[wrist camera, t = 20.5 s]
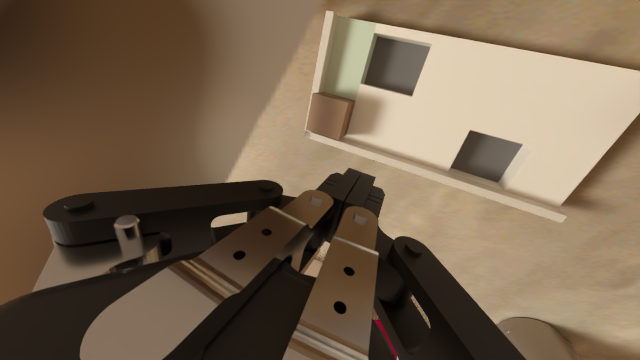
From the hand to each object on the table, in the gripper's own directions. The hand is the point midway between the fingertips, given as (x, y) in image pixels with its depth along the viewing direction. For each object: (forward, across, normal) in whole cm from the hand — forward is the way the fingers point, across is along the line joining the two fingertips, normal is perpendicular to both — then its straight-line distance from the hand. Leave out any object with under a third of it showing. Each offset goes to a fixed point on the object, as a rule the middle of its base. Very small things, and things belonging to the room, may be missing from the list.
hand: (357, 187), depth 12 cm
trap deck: (+25, -5, -3) cm, 26 cm away
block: (+22, +8, +1) cm, 24 cm away
